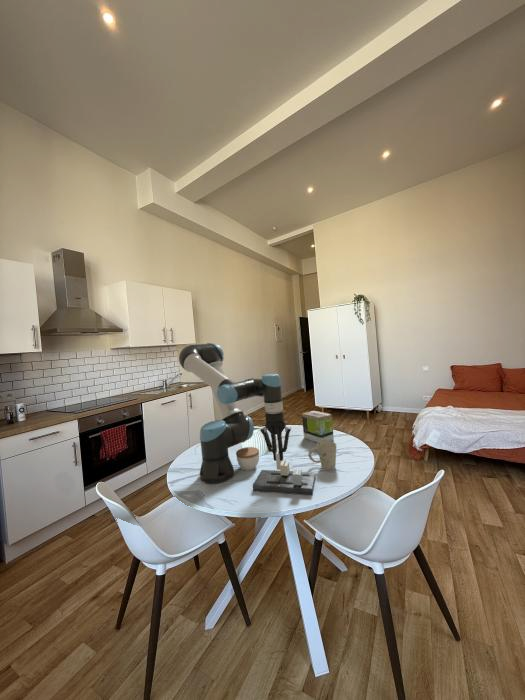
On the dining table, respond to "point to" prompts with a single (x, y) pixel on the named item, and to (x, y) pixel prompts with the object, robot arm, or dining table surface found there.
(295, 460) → the dining table surface
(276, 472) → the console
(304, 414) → the tea box
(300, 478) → the fader right
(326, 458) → the mug
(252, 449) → the lidded jar
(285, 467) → the fader left
